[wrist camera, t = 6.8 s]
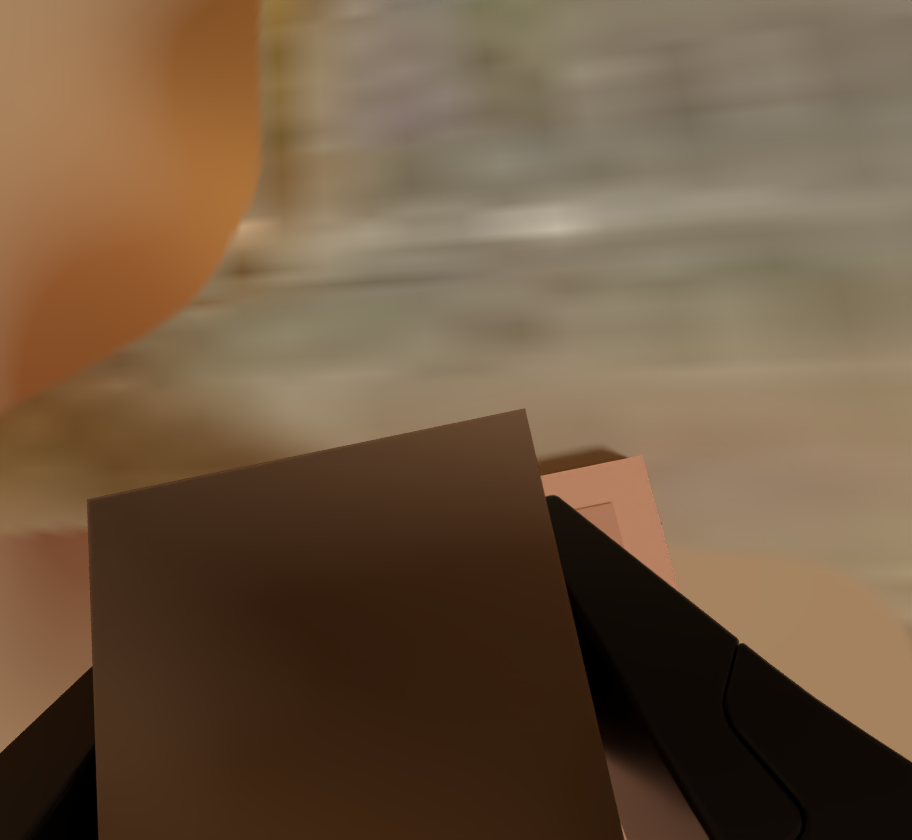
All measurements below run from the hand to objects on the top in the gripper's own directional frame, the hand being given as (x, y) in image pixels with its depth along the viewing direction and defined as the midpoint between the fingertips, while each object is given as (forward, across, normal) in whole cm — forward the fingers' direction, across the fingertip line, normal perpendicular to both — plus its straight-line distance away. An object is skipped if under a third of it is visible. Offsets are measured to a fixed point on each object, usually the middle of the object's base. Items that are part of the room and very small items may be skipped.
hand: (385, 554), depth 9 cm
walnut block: (+5, 0, +6) cm, 8 cm away
